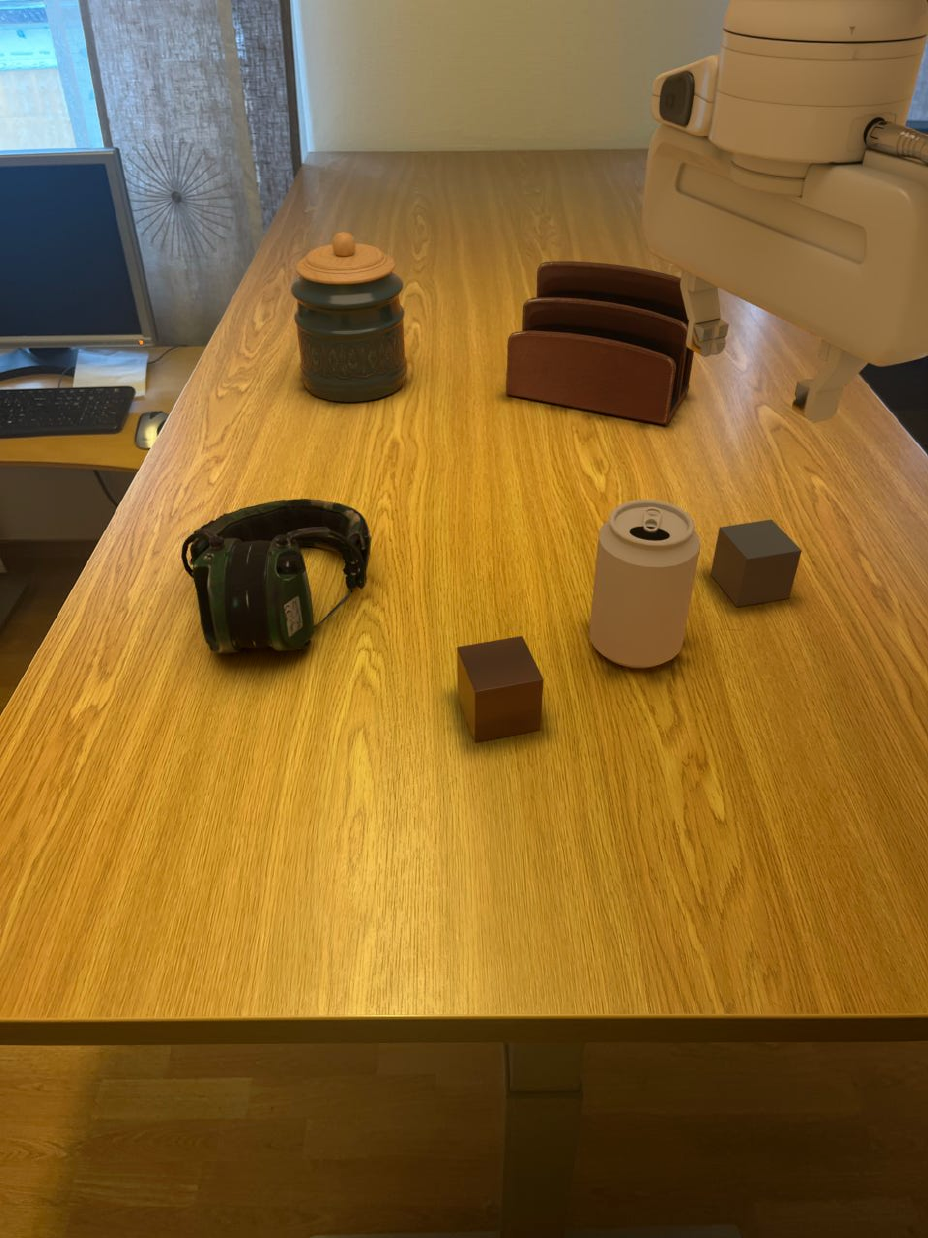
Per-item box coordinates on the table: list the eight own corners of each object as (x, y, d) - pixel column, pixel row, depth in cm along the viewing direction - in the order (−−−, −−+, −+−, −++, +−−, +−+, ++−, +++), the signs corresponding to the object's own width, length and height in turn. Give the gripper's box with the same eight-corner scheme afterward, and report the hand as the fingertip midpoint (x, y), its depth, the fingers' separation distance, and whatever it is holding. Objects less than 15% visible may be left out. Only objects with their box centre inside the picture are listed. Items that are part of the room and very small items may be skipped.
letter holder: (535, 365, 120) (540, 251, 111) (689, 393, 113) (707, 274, 105) (504, 396, 113) (507, 277, 104) (666, 427, 106) (684, 303, 97)
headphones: (389, 615, 70) (389, 511, 88) (244, 503, 65) (275, 415, 82) (276, 726, 74) (298, 605, 92) (132, 629, 69) (183, 520, 87)
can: (581, 667, 74) (594, 539, 67) (594, 610, 80) (607, 487, 73) (678, 682, 73) (701, 553, 65) (684, 623, 79) (706, 498, 71)
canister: (330, 354, 123) (316, 212, 112) (423, 367, 119) (418, 222, 108) (283, 395, 113) (263, 244, 102) (382, 411, 110) (372, 256, 99)
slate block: (789, 598, 81) (802, 550, 78) (736, 607, 80) (747, 559, 77) (760, 566, 85) (771, 518, 82) (710, 574, 84) (719, 527, 81)
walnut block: (540, 730, 69) (544, 679, 66) (474, 743, 68) (474, 691, 65) (520, 685, 73) (522, 635, 70) (457, 697, 72) (456, 646, 69)
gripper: (1048, 138, 38) (942, 449, 46) (730, 67, 52) (695, 313, 61) (929, 155, 36) (842, 477, 44) (634, 76, 50) (611, 329, 59)
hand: (755, 381), depth 53 cm, fingers open, 8 cm apart
